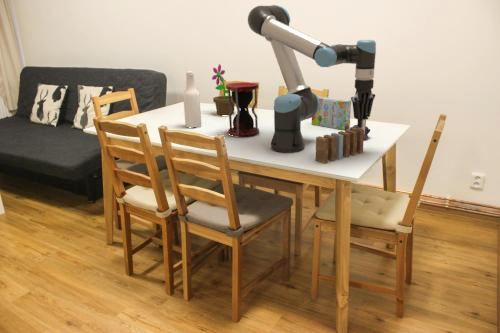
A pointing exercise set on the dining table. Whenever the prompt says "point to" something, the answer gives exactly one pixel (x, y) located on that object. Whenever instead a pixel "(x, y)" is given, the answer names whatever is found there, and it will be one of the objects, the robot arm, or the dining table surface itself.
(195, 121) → the alcohol
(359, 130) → the domino
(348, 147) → the domino
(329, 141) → the domino
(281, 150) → the robot arm
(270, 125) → the dining table surface
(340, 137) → the domino
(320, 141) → the domino
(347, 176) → the dining table surface
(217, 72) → the flowerpot
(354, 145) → the domino
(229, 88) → the hourglass
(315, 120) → the snack box
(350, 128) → the frog
